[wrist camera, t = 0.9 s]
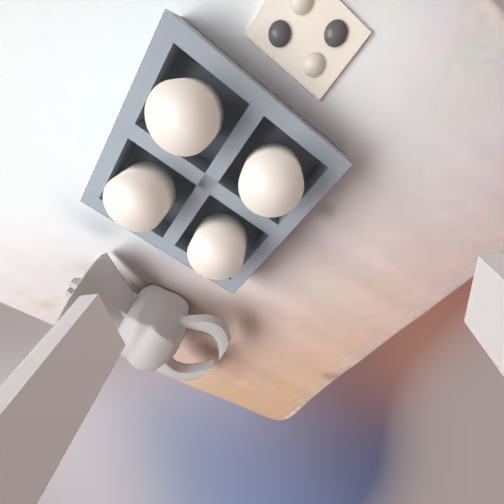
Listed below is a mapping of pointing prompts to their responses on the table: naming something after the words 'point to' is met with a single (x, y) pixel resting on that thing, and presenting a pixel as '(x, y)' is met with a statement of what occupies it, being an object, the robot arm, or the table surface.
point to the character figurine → (148, 320)
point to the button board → (214, 149)
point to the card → (308, 39)
